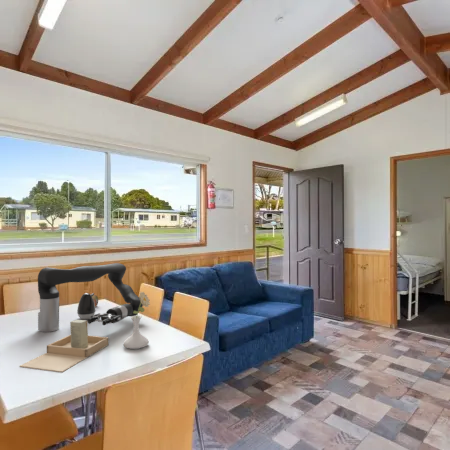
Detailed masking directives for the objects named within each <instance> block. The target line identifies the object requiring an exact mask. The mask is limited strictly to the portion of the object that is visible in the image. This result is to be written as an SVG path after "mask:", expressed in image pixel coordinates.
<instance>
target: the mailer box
mask: <svg viewBox="0 0 450 450" xmlns="http://www.w3.org/2000/svg"><path fill="white" fill-rule="evenodd" d="M109 343H110V342H109V336H96V335H89V334H88V347H86V348H84V349H82V348H72V347H71V334H69V335H66V336H65V337H63V338H59V339H58V340H56V341H53V342H51V343H49V344H47V345H46V352H45V353H43V354H41V355H39V356H37V357H34V358H32V359H31V360H29V361H27V362H24V363H22V364H20V365H19V368H25V369H26V368H27V369H33V370H40V371H48V372H56V373H64V372H66V371H68V370H69V369H71V368H72V367H74V366H75V365H78V364H79V363H81V362H82V361H84V360H86V359H87V358H89V357H91V356H92V355H94V354H96V353H97V352H99V351H101V350H102V349H104V348H106V347H107V346H109Z"/></svg>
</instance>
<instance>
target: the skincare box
mask: <svg viewBox="0 0 450 450" xmlns="http://www.w3.org/2000/svg"><path fill="white" fill-rule="evenodd" d="M69 324H70V335H71V347H72V348H82V349H84V348H86V347H88V335H89V332H88V329H89V328H88V326H89V325H88V324H89V323H88V319H75V320H72V321H70V323H69Z"/></svg>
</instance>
